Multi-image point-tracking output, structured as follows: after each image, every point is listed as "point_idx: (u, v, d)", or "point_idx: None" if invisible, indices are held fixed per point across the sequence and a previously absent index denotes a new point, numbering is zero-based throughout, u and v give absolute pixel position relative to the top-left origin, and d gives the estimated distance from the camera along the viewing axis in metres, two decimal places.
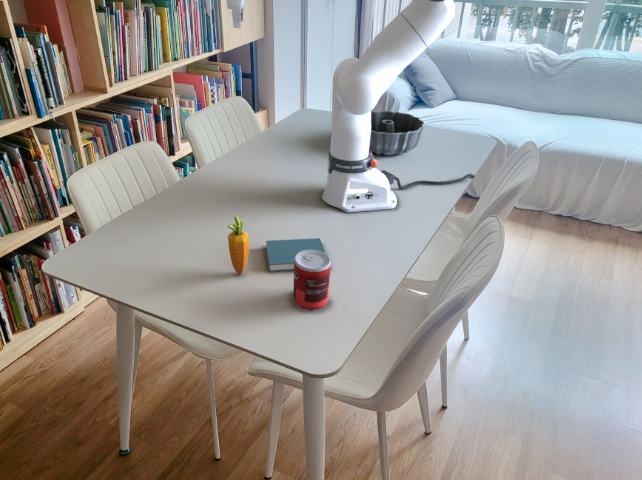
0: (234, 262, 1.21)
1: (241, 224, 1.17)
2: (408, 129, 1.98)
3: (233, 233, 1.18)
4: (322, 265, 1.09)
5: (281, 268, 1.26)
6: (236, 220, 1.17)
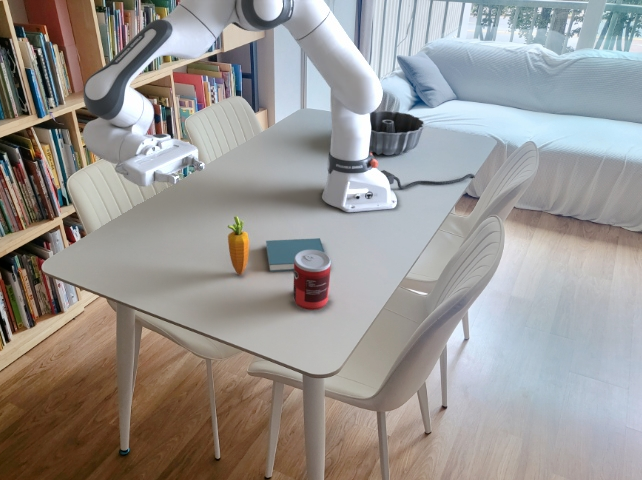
0: (234, 262, 1.21)
1: (241, 224, 1.17)
2: (408, 129, 1.98)
3: (233, 233, 1.18)
4: (322, 265, 1.09)
5: (281, 268, 1.26)
6: (236, 220, 1.17)
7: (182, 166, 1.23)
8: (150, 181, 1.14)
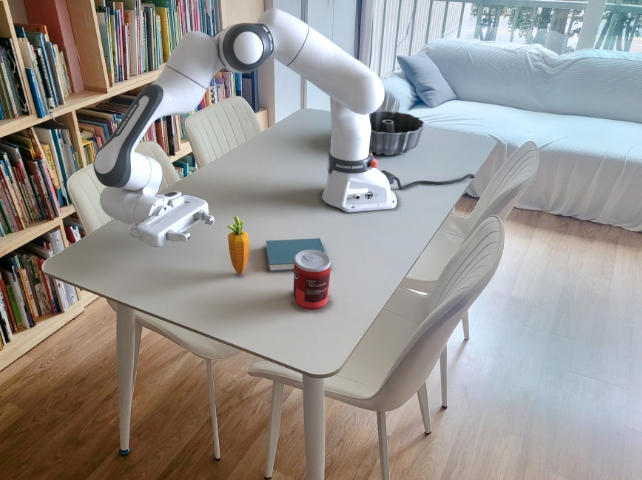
0: (234, 262, 1.21)
1: (241, 224, 1.17)
2: (408, 129, 1.98)
3: (233, 233, 1.18)
4: (322, 265, 1.09)
5: (281, 268, 1.26)
6: (236, 220, 1.17)
7: (193, 221, 1.29)
8: (163, 241, 1.20)
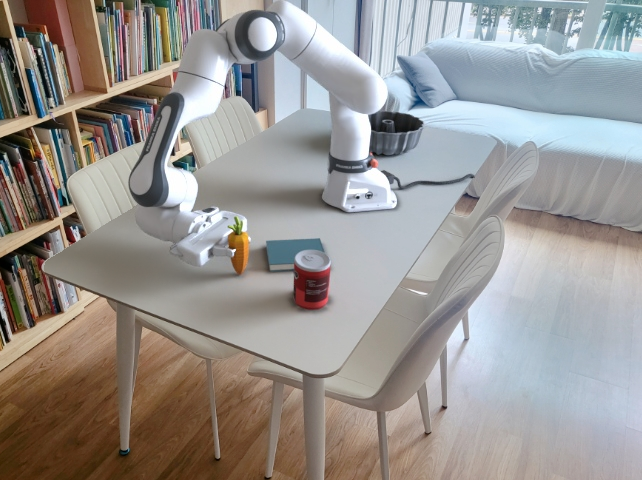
0: (233, 262, 1.21)
1: (241, 224, 1.17)
2: (408, 129, 1.98)
3: (233, 233, 1.18)
4: (322, 265, 1.09)
5: (281, 268, 1.26)
6: (236, 220, 1.17)
7: None
8: (205, 260, 1.16)
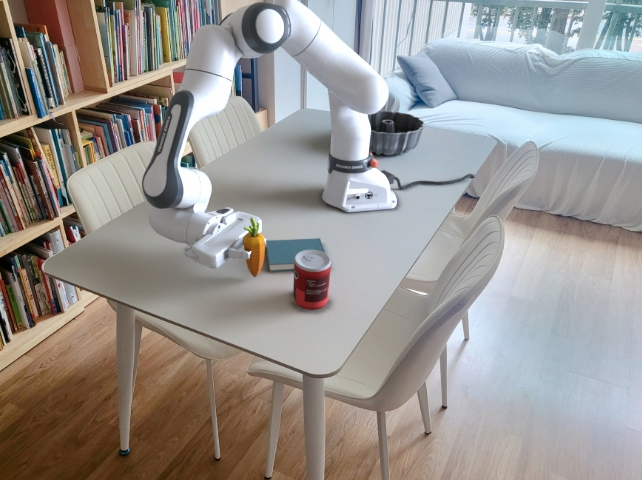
0: (249, 264, 1.19)
1: (257, 226, 1.15)
2: (408, 129, 1.98)
3: (249, 235, 1.16)
4: (322, 265, 1.09)
5: (281, 268, 1.26)
6: (252, 221, 1.15)
7: None
8: (220, 262, 1.14)
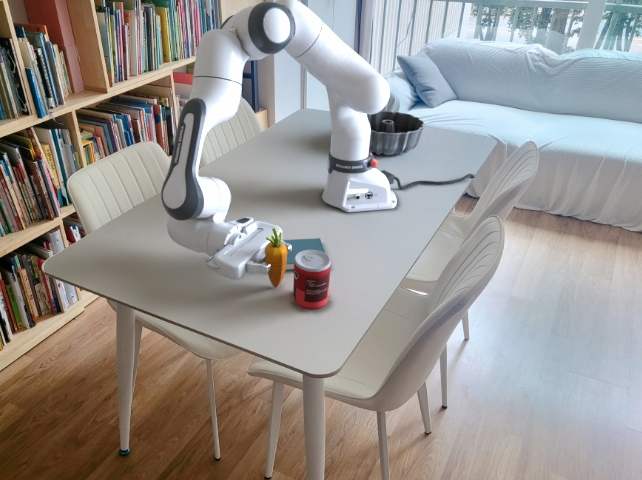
0: (270, 274, 1.17)
1: (280, 236, 1.13)
2: (408, 129, 1.98)
3: (271, 245, 1.14)
4: (322, 265, 1.09)
5: None
6: (274, 232, 1.13)
7: None
8: (242, 273, 1.12)
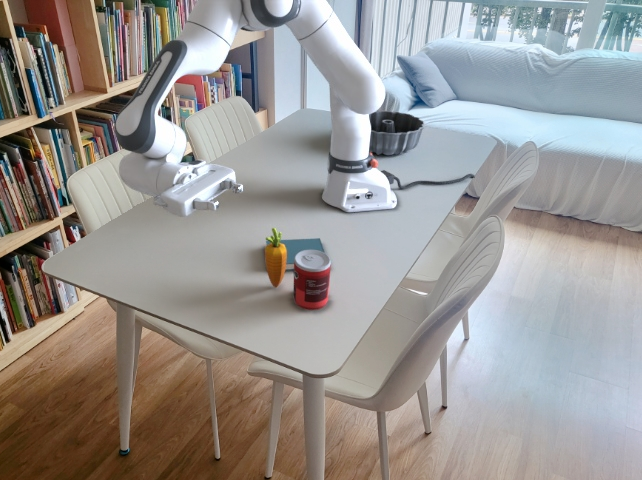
0: (270, 274, 1.17)
1: (279, 236, 1.13)
2: (408, 129, 1.98)
3: (270, 245, 1.14)
4: (322, 265, 1.09)
5: None
6: (274, 232, 1.13)
7: (220, 191, 1.20)
8: (190, 210, 1.11)
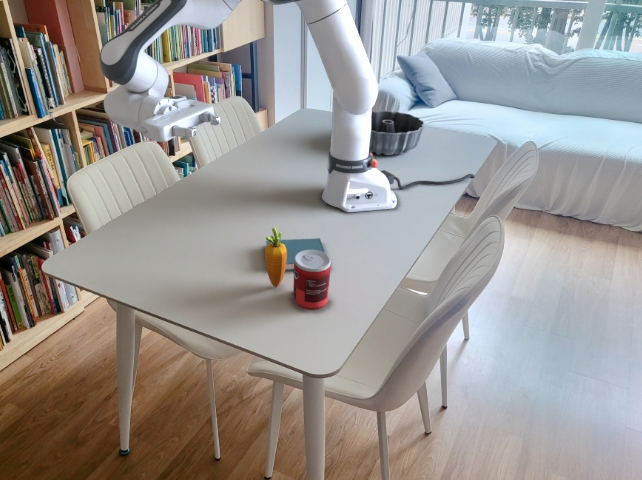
0: (270, 274, 1.17)
1: (279, 236, 1.13)
2: (408, 129, 1.98)
3: (271, 245, 1.14)
4: (322, 265, 1.09)
5: None
6: (274, 232, 1.13)
7: (199, 123, 1.26)
8: (169, 136, 1.18)
